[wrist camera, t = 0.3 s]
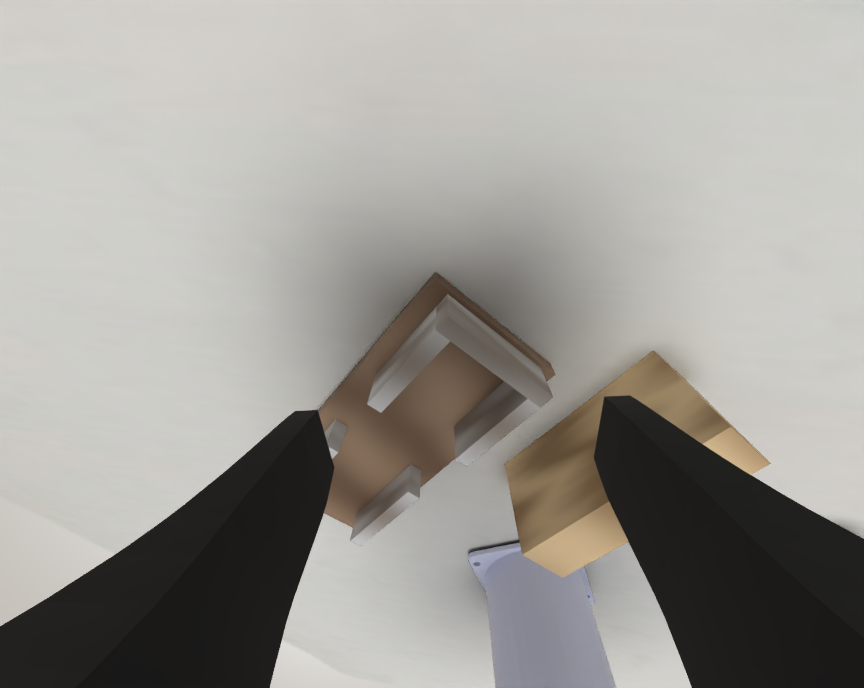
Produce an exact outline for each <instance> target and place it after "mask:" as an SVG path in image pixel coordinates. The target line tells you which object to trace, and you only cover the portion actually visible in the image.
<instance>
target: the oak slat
mask: <svg viewBox="0 0 864 688" xmlns="http://www.w3.org/2000/svg"><path fill="white" fill-rule="evenodd" d="M626 395H630V396H632V397H633V398H635V399H637V400H638V401H640V402H641V403H643V404H644V405H646V406H647V407H649V408H650V409H652V410H653V411H655V412H656V413H658V414H659V415H661V416H662V417H663V418H665V419H666V420H668V421H669V422H671V423H672V424H674V425H675V426H677V427H678V428H679V429H681V430H682V431H684V432H685V433H687V434H688V435H690V436H691V437H693V438H694V439H696V440H697V441H699V442H700V443H702V444H703V445H705V446H706V447H708V448H709V449H711V450H712V451H714V452H715V453H717V454H718V455H720V456H721V457H723V458H724V459H726V460H728V461H729V462H731V463H732V464H734V465H735V466H737V467H739V468H740V469H742V470H743V471H745V472H747V473H748V474H750V475H751V474H753V473H755V472H756V471H758V470H760V469H762V468H764V467H766V466H767V465H769V464H771V463H770V462H769V461H768V460H767V459H766V458H765V457H764V456H763V455H762V454H761V453H760V452H759V451H758V450H757V449H756V448H755V447H753V446H752V445H751V444H750V443H749V442H748V441H747V440H746V439H745V438H744V437H743V436H742V435H741V434H740V433H739V432H738V431H737V430H736V429H735V428H734V427H733V426H732V425H731V424H730V423H729V422H728V421H727V420H726V419H725V418H724V417H723V416H722V415H721V414H720V413H719V412H718V411H717V410H716V409H715V408H714V407H713V406H711V405H710V404H709V403H708V402H707V401H706V400H705V399H704V398H703V397H702V396H701V395H700V394H699V393H698V392H697V391H696V390H695V389H694V388H693V387H692V386H691V385H690V384H689V383H688V382H687V381H686V380H685V379H684V378H683V377H682V376H680V375H679V374H678V373H677V372H676V371H675V370H674V369H673V368H672V367H671V366H670V365H669V364H668V363H666V362H665V361H664V360H663V359H662V358H661V357H660V356H659V355H658V354H657V353H656V352H655V351H652V352H651V353H650V354H648V355H647V356H646V357H644V358H643V359H642V360H641V361H639V362H638V363H637V364H635V365H634V366H633V367H631V368H630V369H629V370H627V371H626V372H625V373H624V374H622V375H621V376H620V377H618V378H617V379H616V380H614V381H613V382H612V383H610V384H609V385H608V386H607V387H605V388H604V389H603V390H601V391H600V392H599V393H597V394H596V395H595V396H594V397H592V398H591V399H590V400H588V401H587V402H586V403H584V404H583V405H582V406H580V407H579V408H578V409H577V410H575V411H574V412H573V413H571V414H570V415H569V416H567V417H566V418H565V419H564V420H562V421H561V422H560V423H558V424H557V425H556V426H554V427H553V428H552V429H550V430H549V431H548V432H547V433H545V434H544V435H543V436H541V437H540V438H539V439H537V440H536V441H535V442H533V443H532V444H531V445H530V446H528V447H527V448H526V449H524V450H523V451H522V452H520V453H519V454H518V455H517V456H515V457H514V458H513V459H511V460H510V461H509V462H507V463H506V464H505V468H506V473H507V478H508V483H509V489H510V494H511V499H512V504H513V510H514V515H515V520H516V525H517V531H518V536H519V541H520V546H521V552H522V555H523V556H525V557H527V558H528V559H530V560H532V561H534V562H536V563H537V564H539V565H541V566H543V567H544V568H546V569H548V570H550V571H551V572H553V573H555V574H557V575H558V576H560V577H562V578H563V577H565V576H567V575H569V574H570V573H572V572H574V571H576V570H578V569H580V568H581V567H583V566H585V565H587V564H589V563H590V562H592V561H594V560H596V559H598V558H600V557H601V556H603V555H605V554H607V553H609V552H611V551H612V550H614V549H616V548H618V547H620V546H621V545H623V544H625V543H627V542H629V541H628V539H627V537H626V535H625V533H624V531H623V529H622V527H621V525H620V523H619V521H618V519H617V517H616V515H615V513H614V511H613V509H612V506H611V504H610V502H609V500H608V498H607V495H606V493H605V490H604V487H603V484H602V482H601V479H600V476H599V473H598V470H597V467H596V464H595V461H594V453H595V447H596V441H597V435H598V430H599V424H600V418H601V412H602V406H603V400H604V397H605V396H626Z"/></svg>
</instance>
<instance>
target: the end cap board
mask: <svg viewBox="0 0 864 688" xmlns="http://www.w3.org/2000/svg"><path fill="white" fill-rule="evenodd" d="M554 375H555V373H554V370H553V368H552V366H551V364H550V363H548V362H547V361H546V360H545V359H543V358H542V357H541V356H540V355H538V354H537V353H536V352H535V351H534V350H532V349H531V348H530V347H529V346H527V345H526V344H525V343H524V342H522V341H521V340H520V339H519V338H517V337H516V336H515V335H514V334H512V333H511V332H510V331H509V330H507V329H506V328H505V327H504V326H502V325H501V324H500V323H499V322H497V321H496V320H495V319H494V318H492V317H491V316H490V315H489V314H487V313H486V312H485V311H484V310H482V309H481V308H480V307H479V306H477V305H476V304H475V303H474V302H473V301H471V300H470V299H469V298H468V297H466V296H465V295H464V294H463V293H461V292H460V291H459V290H458V289H456V288H455V287H454V286H453V285H451V284H450V283H449V282H448V281H446V280H445V279H444V278H443V277H441V276H440V275H439V274H438V273H436V272H435V273H434V275H433V276H432V277H431V278H430V279H429V280H428V282H427V283H426V284H425V285H424V286H423V288H422V289H421V290H420V291H419V292H418V293H417V295H416V296H415V297H414V298H413V299H412V300H411V302H410V303H409V304H408V305H407V306H406V308H405V309H404V310H403V311H402V312H401V313H400V315H399V316H398V317H397V318H396V319H395V321H394V322H393V323H392V324H391V325H390V326H389V328H388V329H387V330H386V331H385V332H384V333H383V335H382V336H381V337H380V338H379V339H378V341H377V342H376V343H375V344H374V345H373V346H372V348H371V349H370V350H369V351H368V352H367V354H366V355H365V356H364V357H363V358H362V359H361V361H360V362H359V363H358V364H357V365H356V366H355V368H354V369H353V370H352V371H351V372H350V374H349V375H348V376H347V377H346V378H345V379H344V381H343V382H342V383H341V384H340V385H339V387H338V388H337V389H336V390H335V391H334V392H333V394H332V395H331V396H330V397H329V398H328V399H327V401H326V402H325V403H324V404H323V405H322V407H321V408H320V409H319V410H318V412H319V416H320V419H321V423H322V426H323V430H324V433H325V436H326V440H327V443H328V447H329V450H330V454H331V457H332V461H333V464H334V472H333V477H332V482H331V487H330V491H329V496H328V500H327V504H326V508H325V511H324V513H325V514H327V515H329V516H331V517H333V518H335V519H337V520H339V521H341V522H343V523H345V524H347V525H349V526H351V527H353V530H352V535H351V539H350V541H351V542H353V543H355V544H357V545H359V546H362V545H363V544H364V543H365V542H367V541H368V540H369V539H370V538H371V537H373V536H374V535H375V534H376V533H378V532H379V531H380V530H381V529H382V528H384V527H385V526H386V525H387V524H388V523H390V522H391V521H392V520H393V519H395V518H396V517H397V516H398V515H399V514H401V513H402V512H403V511H404V510H406V509H407V508H408V507H409V506H410V505H412V504H413V503H414V502H415V501H417V500H418V499H419V496H420V487H422V486H423V485H424V484H425V483H426V482H427V481H429V480H430V479H431V478H432V477H433V476H435V475H436V474H437V473H438V472H439V471H441V470H442V469H443V468H444V467H445V466H447V465H448V464H449V463H450V462H451V461H453V460H454V459H455V460H457V461H459V462H460V463H462V464H463V465H465V466H469V465H470V464H471V463H472V462H474V461H475V460H476V459H477V458H479V457H480V456H481V455H482V454H484V453H485V452H486V451H487V450H489V449H490V448H491V447H492V446H493V445H495V444H496V443H497V442H498V441H500V440H501V439H502V438H503V437H505V436H506V435H507V434H508V433H510V432H511V431H512V430H513V429H514V428H516V427H517V426H518V425H519V424H521V423H522V422H523V421H524V420H526V419H527V418H528V417H529V416H531V415H532V414H533V413H534V412H536V411H537V410H538V409H539V408H540V407H542V406H543V405H544V404H545V403H547V402H548V401H549V400H550V399H552V398H553V395H552V393H551V391H550V388H549V386H548V384H547V381H548V380H549V379H550V378H552V377H553V376H554Z"/></svg>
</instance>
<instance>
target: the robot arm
mask: <svg viewBox="0 0 864 688" xmlns="http://www.w3.org/2000/svg"><path fill="white" fill-rule="evenodd" d="M594 461H595V464H596V467H597V470H598V473H599V476H600V479H601V482H602V484H603V487H604V490H605V493H606V495H607V498H608V500H609V502H610V504H611V506H612V509H613V511H614V513H615V515H616V517H617V519H618V521H619V523H620V525H621V527H622V529H623V531H624V533H625V535H626V537H627V539H628V541H629V543H630V545H631V547H632V549H633V552H634V554H635V556H636V558H637V560H638V562H639V564H640V566H641V568H642V570H643V572H644V574H645V576H646V578H647V580H648V582H649V584H650V586H651V588H652V590H653V592H654V594H655V596H656V599H657V601H658V603H659V605H660V608H661V610H662V612H663V614H664V617H665V619H666V621H667V624H668V627H669V629H670V632H671V634H672V637H673V639H674V642H675V645H676V647H677V650H678V652H679V655H680V657H681V660H682V662H683V665H684V668H685V670H686V673H687V675H688V678H689V681H690V684H691V686H692V688H864V539H863V538H861V537H859V536H857V535H855V534H853V533H852V532H850V531H848V530H846V529H844V528H842V527H840V526H839V525H837V524H835V523H833V522H831V521H829V520H828V519H826V518H824V517H822V516H820V515H818V514H817V513H815V512H813V511H811V510H809V509H807V508H806V507H804V506H802V505H800V504H799V503H797V502H795V501H793V500H792V499H790V498H788V497H786V496H785V495H783V494H781V493H780V492H778V491H776V490H775V489H773V488H771V487H770V486H768V485H766V484H765V483H763V482H761V481H760V480H758V479H756V478H755V477H753V476H752V475H750V474H748V473H747V472H745V471H743V470H742V469H740V468H739V467H737V466H735V465H734V464H732V463H731V462H729V461H728V460H726V459H724V458H723V457H721V456H720V455H718V454H717V453H715V452H714V451H712V450H711V449H709V448H708V447H706V446H705V445H703V444H702V443H700V442H699V441H697V440H696V439H694V438H693V437H691V436H690V435H688V434H687V433H685V432H684V431H682V430H681V429H679V428H678V427H677V426H675V425H674V424H672V423H671V422H669V421H668V420H666V419H665V418H663V417H662V416H661V415H659V414H658V413H656V412H655V411H653V410H652V409H650V408H649V407H647V406H646V405H644V404H643V403H641V402H640V401H638V400H637V399H635V398H633V397H632V396H630V395H626V396H605V397H604V400H603V406H602V412H601V418H600V424H599V430H598V435H597V441H596V447H595V453H594ZM333 472H334V464H333V461H332V457H331V454H330V450H329V447H328V443H327V440H326V436H325V433H324V430H323V426H322V423H321V419H320V416H319V412H318V410H310V411H295V412H293V413H292V414H291V415H290V416H288V417H287V418H286V419H285V420H284V421H283V422H281V423H280V424H279V425H278V426H277V427H276V428H275V429H273V430H272V431H271V432H270V433H269V434H268V435H267V436H265V437H264V438H263V439H262V440H261V441H260V442H259V443H258V444H256V445H255V446H254V447H253V448H252V449H251V450H250V451H248V452H247V453H246V454H245V455H244V456H243V457H242V458H240V459H239V460H238V461H237V462H236V463H235V464H233V465H232V466H231V467H230V468H229V469H228V470H227V471H225V472H224V473H223V474H222V475H220V476H219V477H218V478H217V479H215V480H214V481H213V482H212V483H211V484H209V485H208V486H207V487H206V488H204V489H203V490H202V491H201V492H199V493H198V494H197V495H196V496H194V497H193V498H192V499H191V500H190V501H188V502H187V503H186V504H185V505H183V506H182V507H181V508H179V509H178V510H177V511H176V512H174V513H173V514H172V515H170V516H169V517H168V518H166V519H165V520H164V521H162V522H161V523H159V524H158V525H157V526H155V527H154V528H153V529H151V530H150V531H148V532H147V533H146V534H144V535H143V536H141V537H140V538H138V539H137V540H136V541H134V542H133V543H131V544H130V545H129V546H127V547H126V548H124V549H123V550H121V551H120V552H118V553H117V554H115V555H114V556H113V557H111V558H109V559H108V560H106V561H105V562H103V563H102V564H100V565H98V566H97V567H95V568H94V569H92V570H91V571H89V572H88V573H86V574H84V575H83V576H81V577H80V578H78V579H77V580H75V581H74V582H72V583H70V584H69V585H67V586H66V587H64V588H63V589H61V590H60V591H58V592H56V593H55V594H53V595H52V596H50V597H49V598H47V599H45V600H44V601H42V602H40V603H39V604H37V605H35V606H34V607H32V608H30V609H29V610H27V611H26V612H24V613H22V614H20V615H19V616H17V617H15V618H14V619H12V620H10V621H9V622H7V623H5V624H4V625H2V626H0V688H270V684H271V680H272V675H273V671H274V667H275V663H276V659H277V656H278V652H279V648H280V644H281V640H282V637H283V633H284V629H285V625H286V621H287V618H288V615H289V612H290V608H291V605H292V602H293V599H294V596H295V593H296V590H297V587H298V585H299V582H300V579H301V576H302V573H303V571H304V568H305V565H306V562H307V559H308V556H309V554H310V551H311V548H312V545H313V542H314V540H315V537H316V534H317V531H318V528H319V525H320V522H321V519H322V516H323V514H324V511H325V508H326V504H327V500H328V496H329V491H330V487H331V482H332V477H333ZM468 561H469V563H470V565H471V566H472V568H473V570H474V572H475V574H476V575H477V577H478V579H479V581H480V583H481V584H482V586H483V588H484V590H485V592H486V593H487V603H488V614H489V625H490V635H491V646H492V656H493V667H494V677H495V688H616V684H615V681H614V678H613V675H612V672H611V669H610V665H609V662H608V659H607V656H606V653H605V650H604V647H603V643H602V640H601V637H600V634H599V631H598V628H597V625H596V621H595V618H594V615H593V612H592V609H591V606H592V605H593V604H594V603H595V601H594V598H593V595H592V591H591V588H590V585H589V582H588V579H587V575H586V572H585V569H584V566H583V567H581V568H580V569H578V570H576V571H574V572H572V573H570V574H569V575H567V576H565V577H563V578H562V577H560V576H558V575H557V574H555V573H553V572H551V571H550V570H548V569H546V568H544V567H543V566H541V565H539V564H537V563H536V562H534V561H532V560H530V559H528V558H527V557H525V556H523V555H522V552H521V546H520V543H515V544H509V545H504V546H499V547H494V548H489V549H484V550H479V551H474V552H471V553H469V554H468Z"/></svg>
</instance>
